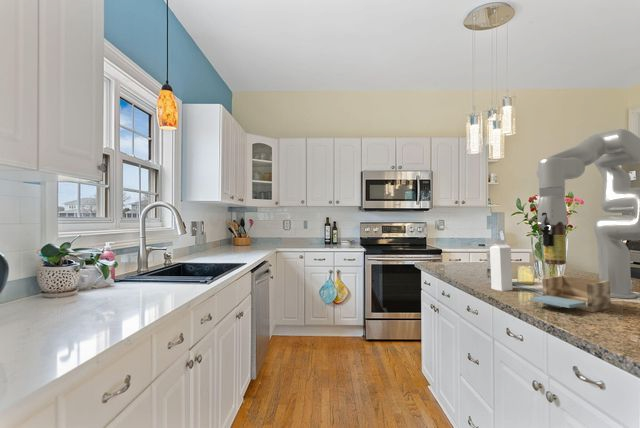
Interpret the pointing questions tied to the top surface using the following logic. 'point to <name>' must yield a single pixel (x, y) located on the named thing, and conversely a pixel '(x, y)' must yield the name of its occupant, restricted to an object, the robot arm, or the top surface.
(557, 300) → the door
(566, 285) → the cabinet
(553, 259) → the sauce bottle
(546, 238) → the robot arm
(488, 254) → the coffee box
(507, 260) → the milk
